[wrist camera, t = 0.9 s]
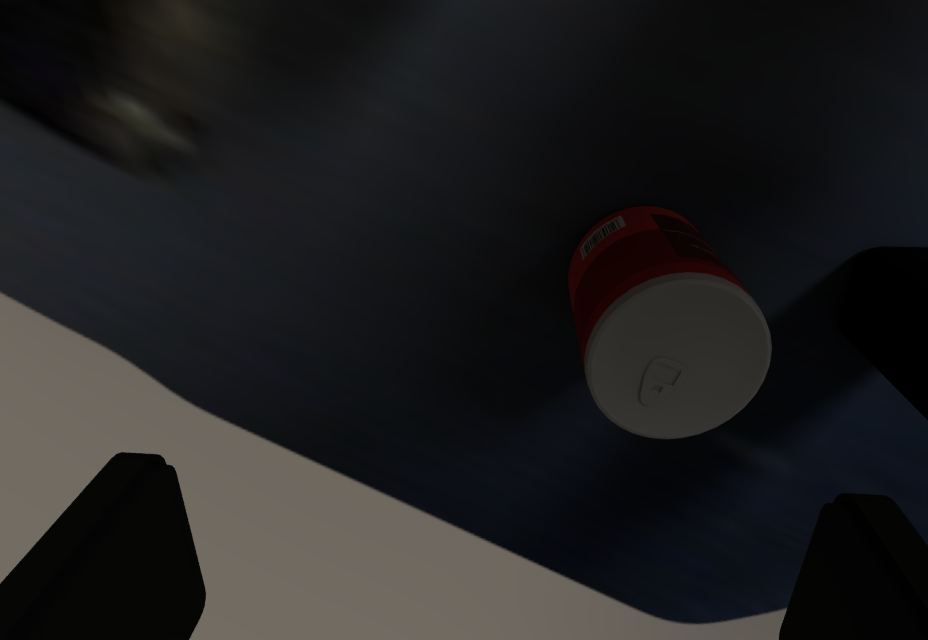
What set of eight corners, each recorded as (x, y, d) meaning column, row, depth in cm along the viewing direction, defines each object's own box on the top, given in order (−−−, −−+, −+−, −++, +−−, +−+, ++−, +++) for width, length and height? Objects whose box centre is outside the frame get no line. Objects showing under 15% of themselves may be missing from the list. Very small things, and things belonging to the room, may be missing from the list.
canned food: (556, 321, 39) (571, 430, 29) (580, 192, 35) (606, 266, 25) (683, 337, 38) (741, 451, 29) (719, 208, 35) (800, 289, 25)
